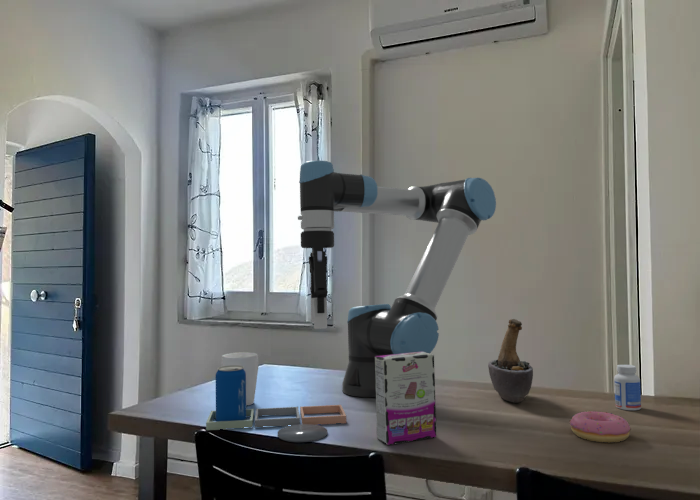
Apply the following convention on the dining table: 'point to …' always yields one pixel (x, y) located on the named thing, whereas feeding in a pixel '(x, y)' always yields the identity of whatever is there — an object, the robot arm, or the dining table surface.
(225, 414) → the beverage can
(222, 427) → the sage corral
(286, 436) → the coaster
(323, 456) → the dining table surface
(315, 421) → the terracotta corral
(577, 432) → the doughnut
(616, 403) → the pill bottle
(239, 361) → the grey tapered cylinder
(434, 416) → the candy bar box
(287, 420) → the slate-grey corral
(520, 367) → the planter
